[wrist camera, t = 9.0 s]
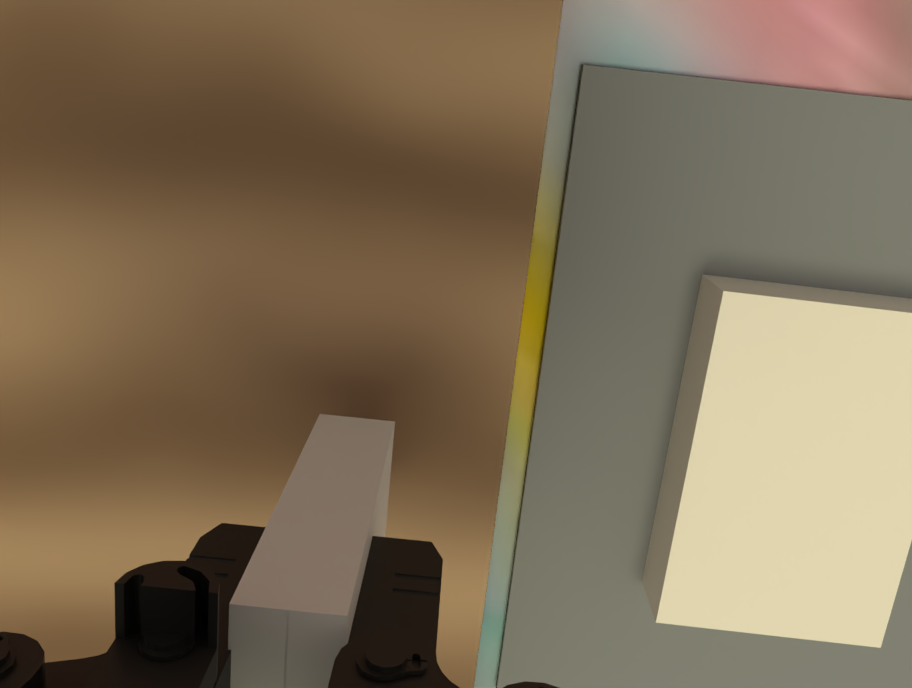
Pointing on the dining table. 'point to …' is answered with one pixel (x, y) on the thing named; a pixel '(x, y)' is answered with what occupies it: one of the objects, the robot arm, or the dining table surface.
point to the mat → (684, 355)
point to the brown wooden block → (256, 277)
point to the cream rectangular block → (787, 465)
